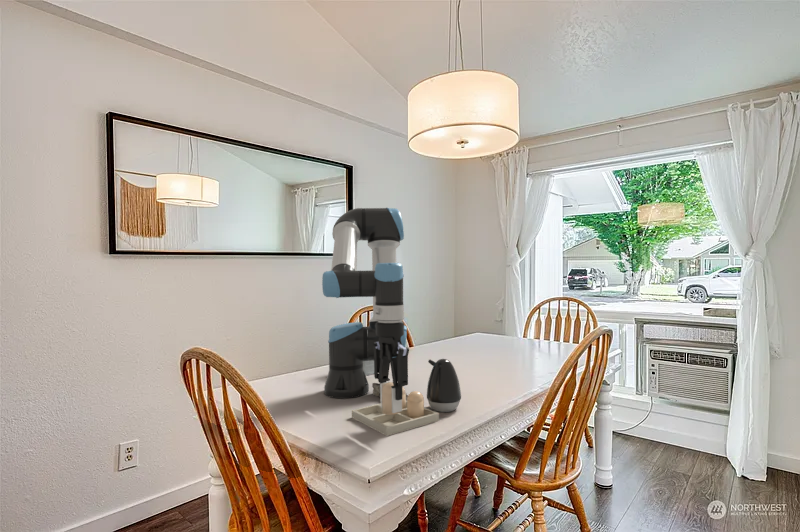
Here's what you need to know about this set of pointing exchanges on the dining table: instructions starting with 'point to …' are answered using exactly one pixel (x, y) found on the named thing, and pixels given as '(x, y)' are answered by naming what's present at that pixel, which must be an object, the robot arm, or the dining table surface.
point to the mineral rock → (377, 390)
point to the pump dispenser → (443, 387)
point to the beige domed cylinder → (403, 398)
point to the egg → (387, 399)
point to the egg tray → (392, 419)
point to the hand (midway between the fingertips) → (391, 409)
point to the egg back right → (415, 405)
